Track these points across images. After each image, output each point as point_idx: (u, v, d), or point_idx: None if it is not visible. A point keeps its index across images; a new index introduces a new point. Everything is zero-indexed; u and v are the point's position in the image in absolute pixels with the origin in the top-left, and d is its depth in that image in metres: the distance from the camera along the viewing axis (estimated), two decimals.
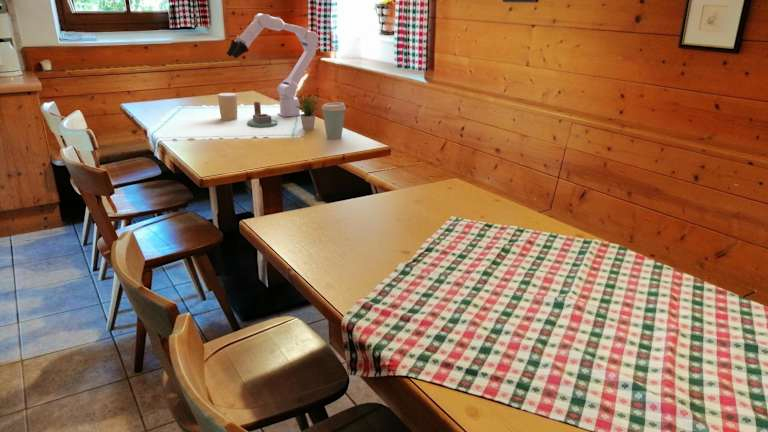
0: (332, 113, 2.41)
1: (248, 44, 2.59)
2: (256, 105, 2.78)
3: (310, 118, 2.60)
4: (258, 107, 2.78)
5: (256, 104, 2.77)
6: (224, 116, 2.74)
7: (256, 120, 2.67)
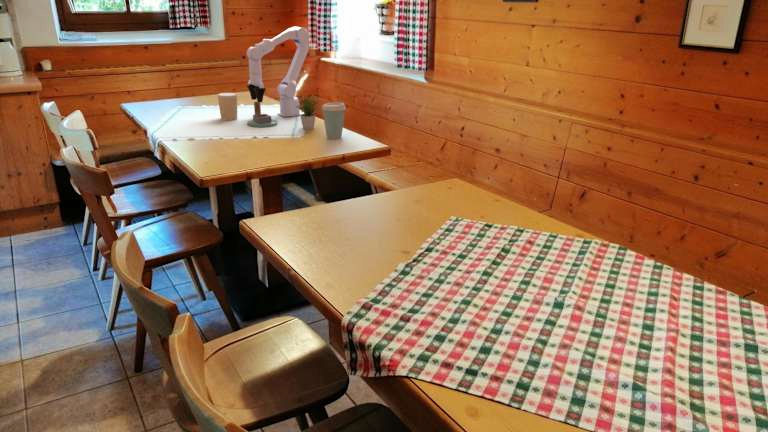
0: (332, 113, 2.41)
1: (262, 85, 2.70)
2: (256, 105, 2.78)
3: (310, 118, 2.60)
4: (258, 107, 2.78)
5: (256, 104, 2.77)
6: (223, 116, 2.74)
7: (256, 120, 2.67)
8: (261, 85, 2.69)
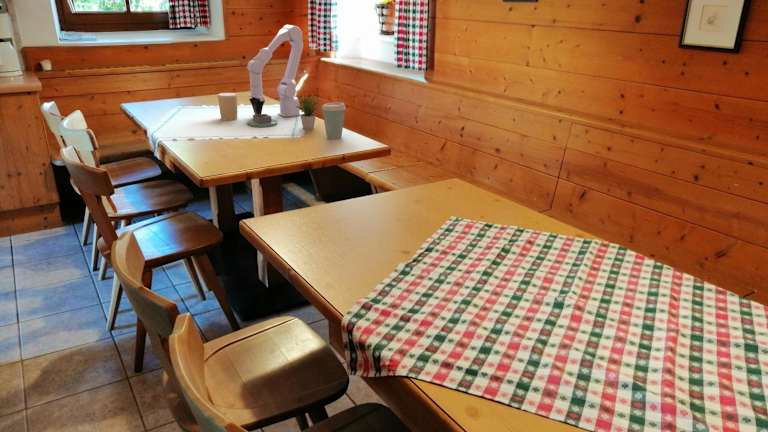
0: (332, 113, 2.41)
1: (262, 98, 2.72)
2: None
3: (310, 118, 2.60)
4: None
5: None
6: (224, 116, 2.74)
7: (256, 120, 2.67)
8: (262, 98, 2.72)
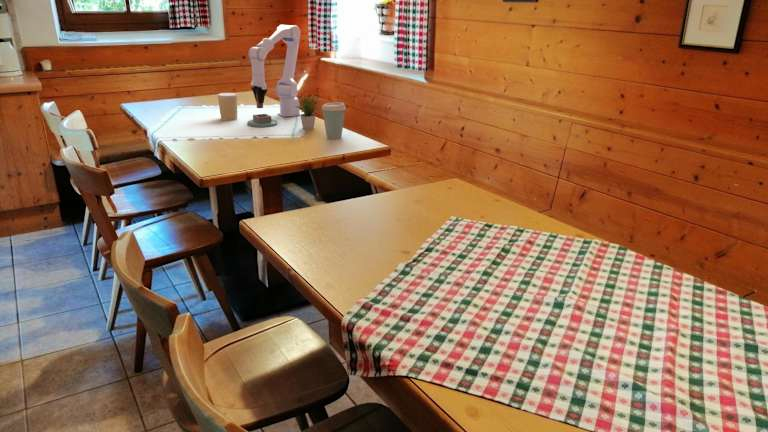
0: (332, 113, 2.41)
1: (265, 87, 2.61)
2: None
3: (310, 118, 2.60)
4: None
5: None
6: (223, 116, 2.74)
7: (256, 120, 2.67)
8: (264, 86, 2.61)
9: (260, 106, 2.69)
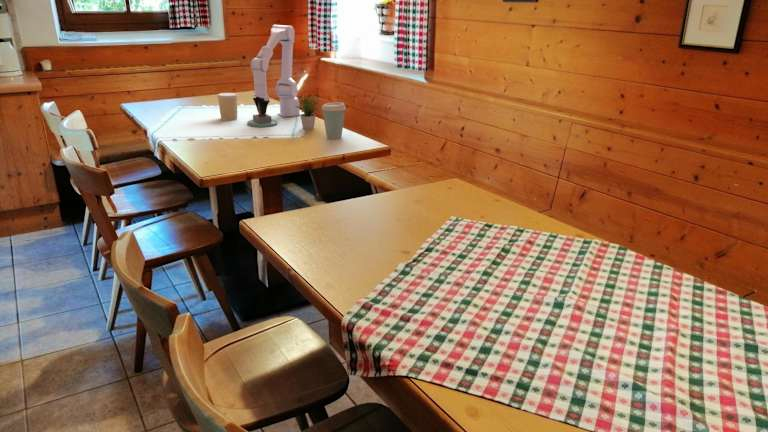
0: (332, 113, 2.41)
1: (267, 98, 2.59)
2: None
3: (310, 118, 2.60)
4: None
5: None
6: (223, 116, 2.74)
7: (256, 120, 2.67)
8: (266, 97, 2.59)
9: None
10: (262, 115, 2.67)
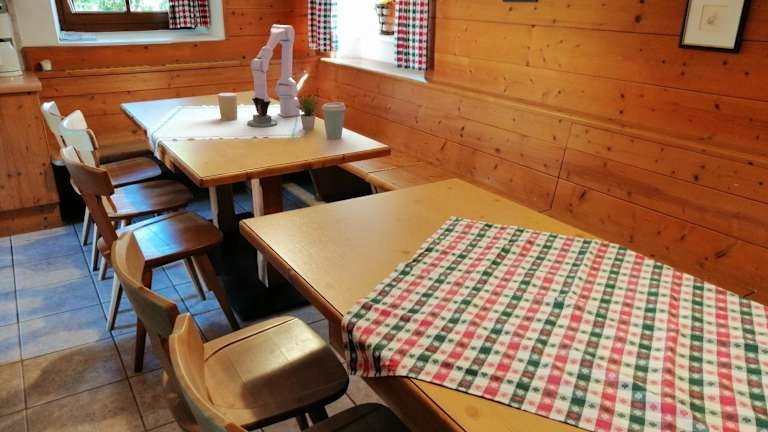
0: (332, 113, 2.41)
1: (267, 99, 2.60)
2: (260, 108, 2.66)
3: (310, 118, 2.60)
4: None
5: None
6: (223, 116, 2.74)
7: (256, 120, 2.67)
8: (266, 98, 2.59)
9: None
10: None
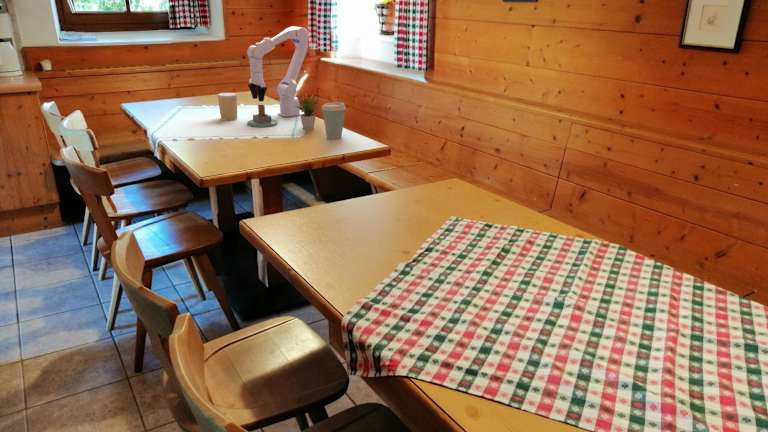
0: (332, 113, 2.41)
1: (263, 85, 2.68)
2: (260, 108, 2.66)
3: (310, 118, 2.60)
4: (262, 111, 2.66)
5: (260, 107, 2.65)
6: (223, 116, 2.74)
7: (256, 120, 2.67)
8: (262, 84, 2.68)
9: None
10: None
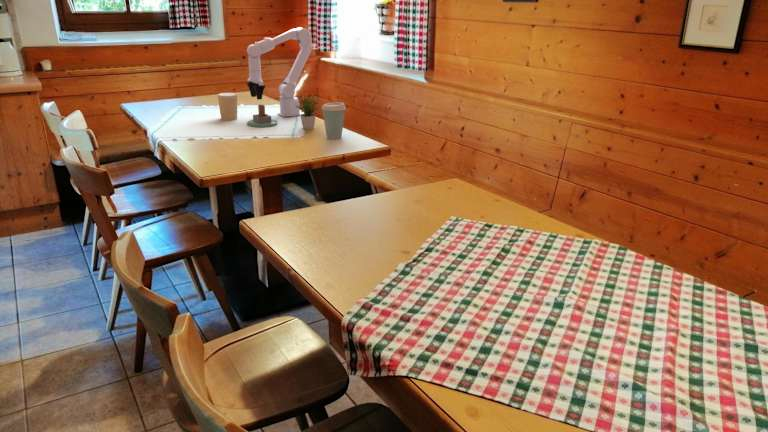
0: (332, 113, 2.41)
1: (261, 83, 2.72)
2: (260, 108, 2.66)
3: (310, 118, 2.60)
4: (262, 111, 2.66)
5: (260, 107, 2.65)
6: (224, 116, 2.74)
7: (256, 120, 2.67)
8: (260, 82, 2.72)
9: None
10: None
